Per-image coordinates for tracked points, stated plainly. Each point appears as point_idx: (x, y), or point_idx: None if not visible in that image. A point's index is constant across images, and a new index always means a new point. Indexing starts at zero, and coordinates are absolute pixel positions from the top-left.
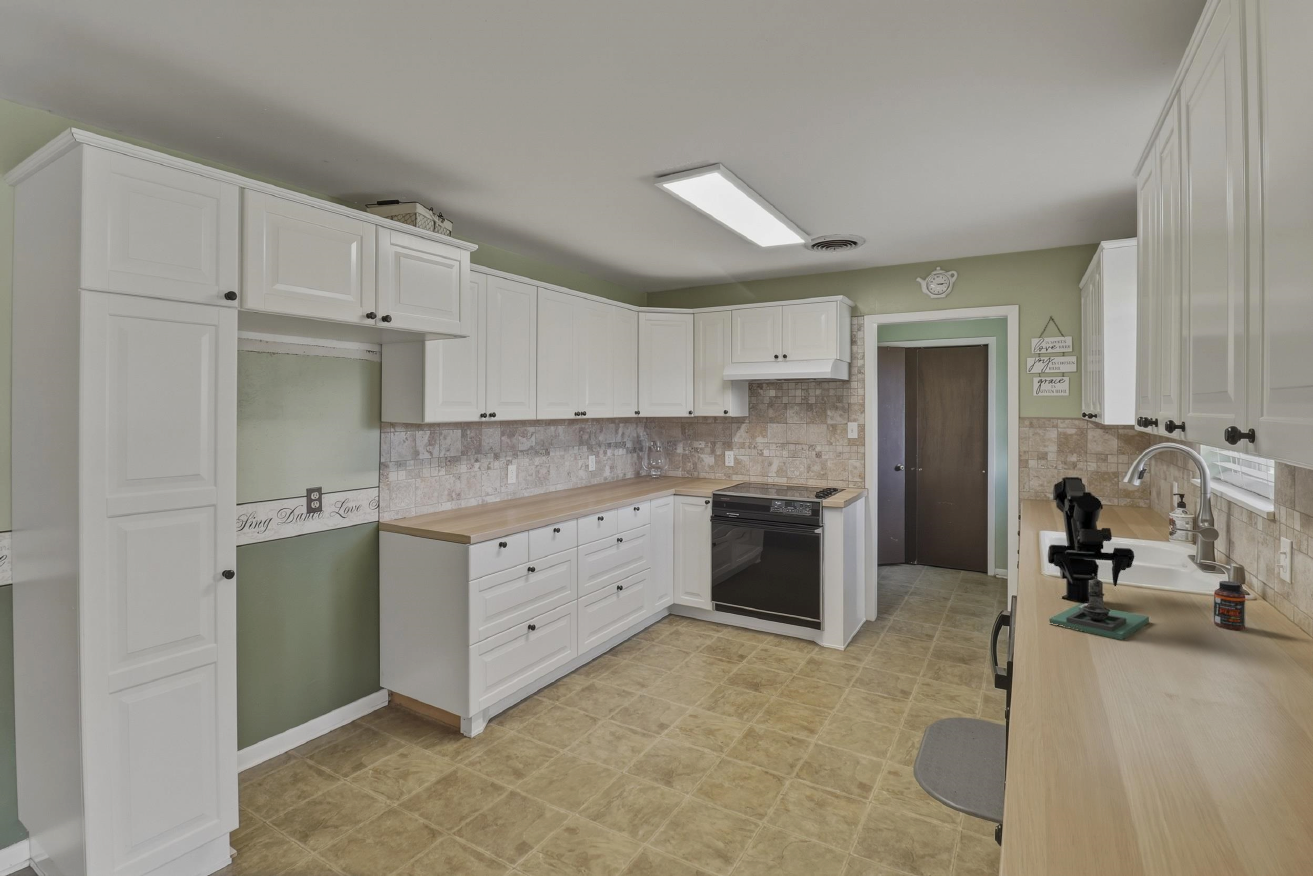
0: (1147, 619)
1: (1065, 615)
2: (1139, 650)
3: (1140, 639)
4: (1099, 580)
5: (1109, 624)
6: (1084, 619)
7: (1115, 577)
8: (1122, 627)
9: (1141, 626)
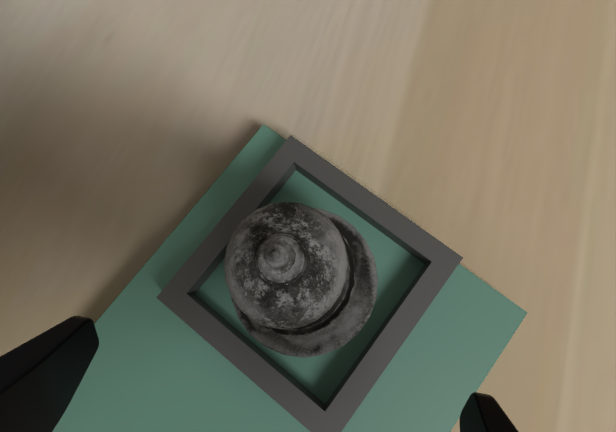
0: None
1: (427, 393)
2: (254, 34)
3: (189, 160)
4: (251, 241)
5: None
6: None
7: (11, 367)
8: (218, 219)
9: None
